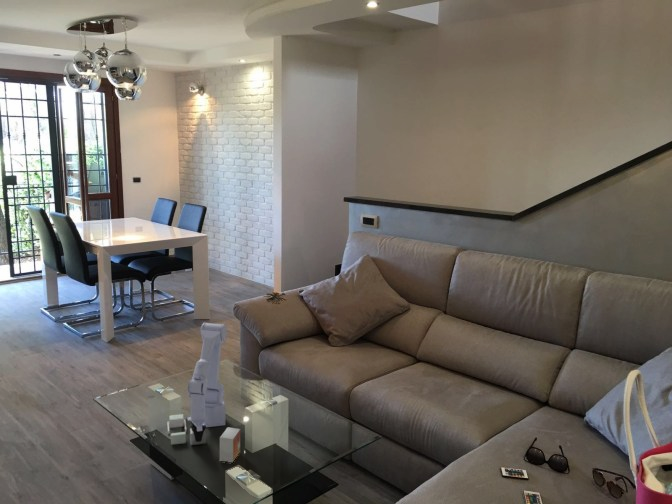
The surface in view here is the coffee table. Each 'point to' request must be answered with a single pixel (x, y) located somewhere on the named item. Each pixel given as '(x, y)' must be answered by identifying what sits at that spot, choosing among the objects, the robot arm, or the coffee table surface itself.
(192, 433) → the steel block
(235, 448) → the small box
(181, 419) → the sliding jaw
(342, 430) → the coffee table surface
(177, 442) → the vise frame
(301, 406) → the coffee table surface
